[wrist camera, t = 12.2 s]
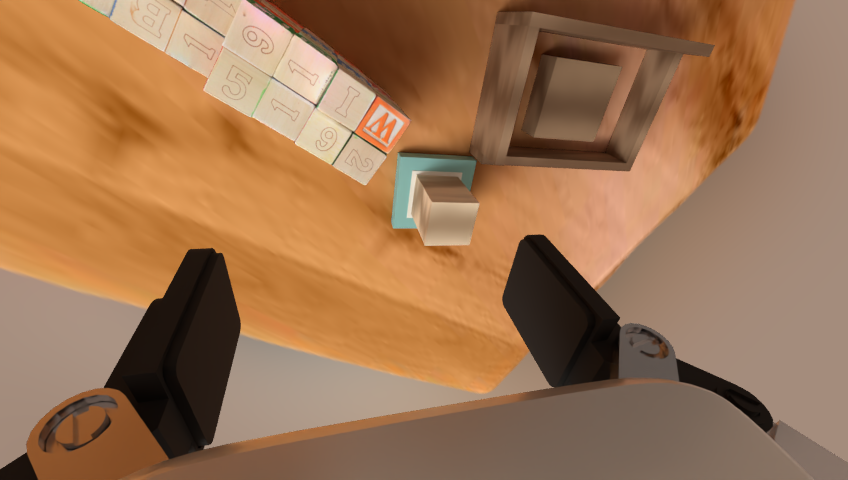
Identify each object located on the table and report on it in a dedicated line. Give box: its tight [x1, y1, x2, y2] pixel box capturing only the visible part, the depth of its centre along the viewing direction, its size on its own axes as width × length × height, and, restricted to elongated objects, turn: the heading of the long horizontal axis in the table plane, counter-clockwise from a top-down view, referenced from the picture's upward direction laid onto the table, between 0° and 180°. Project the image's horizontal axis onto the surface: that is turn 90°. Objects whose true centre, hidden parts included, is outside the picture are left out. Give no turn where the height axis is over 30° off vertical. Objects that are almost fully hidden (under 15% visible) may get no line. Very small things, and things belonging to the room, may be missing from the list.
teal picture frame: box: [391, 152, 477, 228], centre depth 42 cm, size 9×9×2 cm
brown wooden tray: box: [469, 12, 715, 171], centre depth 37 cm, size 14×20×7 cm
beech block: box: [411, 175, 479, 246], centre depth 39 cm, size 5×5×7 cm
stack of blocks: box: [79, 0, 411, 185], centre depth 26 cm, size 21×6×12 cm, turn 51°
